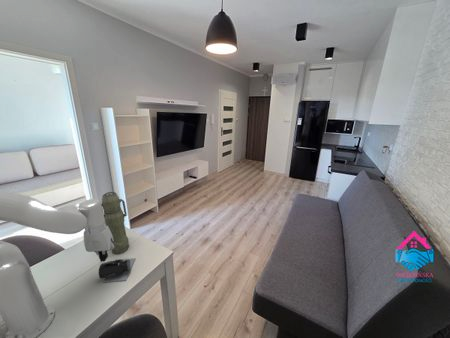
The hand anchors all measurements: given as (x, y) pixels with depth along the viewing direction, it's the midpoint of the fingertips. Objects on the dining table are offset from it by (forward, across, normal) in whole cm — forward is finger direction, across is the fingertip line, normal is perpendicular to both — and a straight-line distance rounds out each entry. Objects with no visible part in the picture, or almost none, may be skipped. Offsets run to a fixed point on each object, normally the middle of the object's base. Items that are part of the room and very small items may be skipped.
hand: (104, 259), depth 85 cm
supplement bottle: (+6, -2, -1) cm, 6 cm away
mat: (+9, +5, +2) cm, 11 cm away
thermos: (+10, -1, +16) cm, 19 cm away
